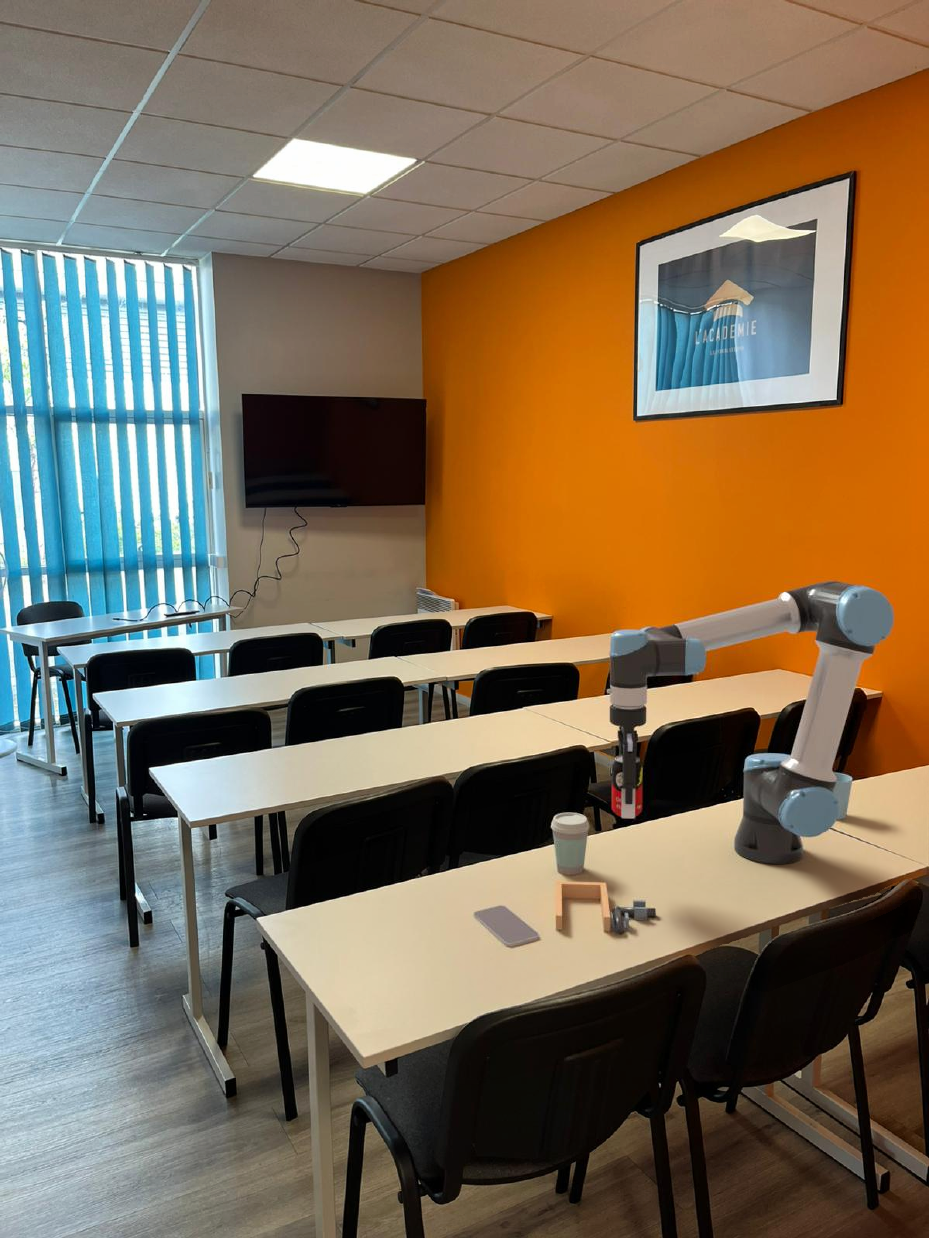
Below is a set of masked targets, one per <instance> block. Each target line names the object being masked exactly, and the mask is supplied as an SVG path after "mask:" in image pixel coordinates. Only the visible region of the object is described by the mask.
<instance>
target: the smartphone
mask: <svg viewBox="0 0 929 1238" xmlns="http://www.w3.org/2000/svg"><path fill="white" fill-rule="evenodd" d="M473 917H474V918H475V919H476V921H478V922H479V923H480V924H481V925H482V926H483V927H484V928H485V929H487V930H488V931H489V932H490V933H491V934H492V935H493V936H494V937H495V938H497V940H499V941H500V942H501V943H502V944H503V945H504V946H506V947H510V948H512V947H516V946H520V945H523V944H527V943H530V942H534V941H537V940H539V939H540V933H539V932H538V931H537V930H535V929H534V928H533V927H532V926H531V925H530V924H529V923H527V922H526V921H525V920H523V919H522V918H521V917H519V916H518V915H517V914H516V913H514V912H513V911H512V910H511V909H509V908H508V907H507V906H506V905H503V904H501V905H500V904H499V905H495V906H492V907H489V908H484V909H479V910H476V911H474V912H473Z"/></svg>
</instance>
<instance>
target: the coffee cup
mask: <svg viewBox="0 0 929 1238" xmlns="http://www.w3.org/2000/svg"><path fill="white" fill-rule="evenodd" d="M550 828H551V829H552V837H553V843H554V853H555V862H556V870H557V872H559V873H560V874H563V875H567V876H575V875H576V876H577V875H580V874H582V873H583V871H584V867H585V861H586V860H585V859H586V852H587V851H586V849H587V845H588V844H587V843H588V833H589V829H590V822H589V821H588V818H587V817H586V816H585V815H584V814H581V813H578V812H561V813H557V814H555V815H554V816H553V819H552V821H551V825H550Z"/></svg>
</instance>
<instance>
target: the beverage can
mask: <svg viewBox="0 0 929 1238" xmlns="http://www.w3.org/2000/svg"><path fill="white" fill-rule="evenodd" d="M640 761H641V760H640V757H638V756H636V785H637V787H636V789H635V817H637V816H639V815H640V814H641V813H642V811H643V774H644V773H643V769H644V767H643V765H642V763H641V762H640ZM622 784H623V766H622V755H620V756H619V755H617V756H615V758H614V761H613V763H612V765H611V810H612V811H613V813H614V814H615V815H616V816H618V817H621V811H622V789H619V786H622ZM621 818H622V817H621Z"/></svg>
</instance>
